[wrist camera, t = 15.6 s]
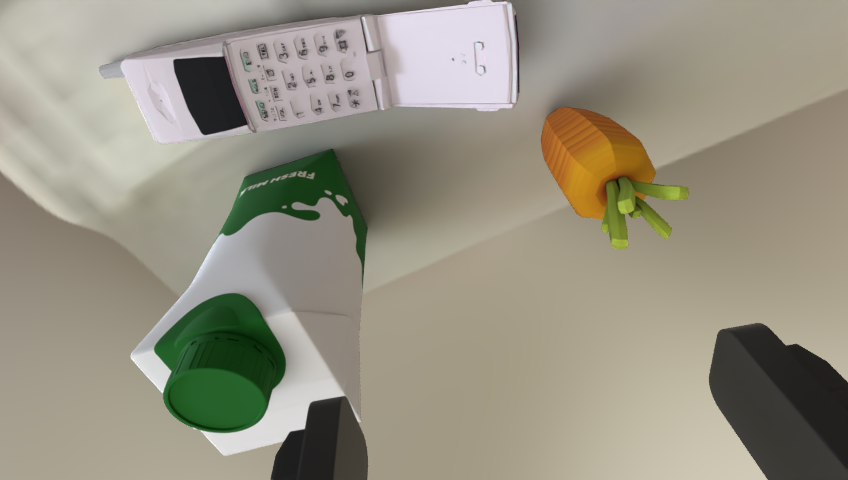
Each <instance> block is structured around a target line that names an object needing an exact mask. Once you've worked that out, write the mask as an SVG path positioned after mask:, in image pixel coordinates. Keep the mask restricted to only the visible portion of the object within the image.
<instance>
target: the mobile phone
mask: <svg viewBox="0 0 848 480" xmlns="http://www.w3.org/2000/svg"><path fill="white" fill-rule="evenodd" d="M99 71H100V73H101V75H102V77H103V78H104V79H107V78H120V77H125V78H126V80H127V82H128V85H129V87H130V89H131V91H132V93H133V95H134V97H135V100H136V102H137V104H138V106H139V108H140V110H141V112H142V115H143V117H144V119H145V121H146V123H147V125H148V127H149V130H150V132H151V134H152V136H153V138H154V140H155V141H157V142H159V143H161V144H170V143H181V142H189V141H198V140H206V139H215V138H222V137H229V136H236V135H243V134H250V133H256V132H262V131H268V130H274V129H280V128H286V127H292V126H298V125H303V124H308V123H313V122H319V121H324V120H329V119H334V118H339V117H344V116H349V115H354V114H359V113H364V112H369V111H375V110H378V108H379V109H381V110H386V109H389V108H390V107H392V106H404V107H446V108H477V110H478V111H498V110H499V108H513V107H515V106H516V104H517V101H518V98H519V42H518V31H517V20H516V11H515V9H514V7H513V5H512V3H511V2H507V1H505V2H492V1H491V0H480V1H471V2H469V3H468V4H467V5H457V6H449V7H441V8H433V9H425V10H417V11H409V12H400V13H392V14H384V15H376V16H374V15H373V14H371V13H370V14H363V15H356V16H349V17H342V18H338V17H331V18H323V19H316V20H308V21H300V22H293V23H286V24H280V25H274V26H267V27H261V28H255V29H248V30H242V31H236V32H230V33H224V34H219V35H215V36H210V37H205V38H200V39H195V40H190V41H185V42H180V43H175V44H170V45H165V46H159V47H155V48H153V49H151V50H147V51H142V52H136V53H133V54H131V55H128V56H127V57H126V58H125V59H124V60H121V61H117V62H113V63H110V64H106V65H102V66H100V67H99Z"/></svg>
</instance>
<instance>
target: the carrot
mask: <svg viewBox="0 0 848 480" xmlns="http://www.w3.org/2000/svg"><path fill="white" fill-rule="evenodd" d="M541 145H542V151H543V155H544V159H545V161H546V163H547V165H548V167H549V169H550V171H551V173H552V175H553V177H554V178H555V180H556V182H557V183H558V185H559V187H560V188H561V190H562V192H563V193H564V195H565V196H566V198H567V199H568V201H569V203H570V204H571V206H572V207H573V209H574V210H575V212H576V213H577V214H578V215H579V216H581V217H586V218H595V219H603V222H602V227H601V230H602V232H606V233H608V232H609V235H610V240H611V247H613V248H617V249H625V248H627V247H628V236H627V226H626V221H625V215H624V214H626V213H628V214H629V215H630V217H631V218H638V217H639V216H640V215H642V216H643V217H644V218H645V219H646V221H647V222H648V223H649V224H650V225H651V226H652V228H654V230H655V231H656V232H657V233H658V234H659V235H660V236H662V237H663V238H664V239H666V238H668V237H669V236H670V234H671V231H672V228H671V227H670V226H669V225H668V223H667V222H665V221H664V220H663V219H662V218H661V217H660V216H659V215H658V214H657V213H656V212H655V211H654V210H653V209H652V208H651V207H650V206H649V205H648V204H646V202H644V199H645V196H646V195H649V196H652V197H656V198H659V199H663V200H685V199H687V198H688V194H689V191H688V188H687V187H683V186H665V185H658V184H651V183H652V181H653V179H654V176H655V174H656V172H655V169H654V167H653V165H652V163H651V161H650V159H649V157H648V155H647V153H646V151H645V149H644V147H643V145H642V143H641V142H640V140H639V139H637V138H636V137H635V136H634V135H632V134H631V133H630V132H628V131H627V130H626V129H624V128H623V127H622V126H620V125H619V124H617V123H616V122H614V121H613V120H611V119H610V118H608V117H605V116H603V115H600V114H598V113H595V112H591V111H588V110H584V109H577V108H570V107H561V108H558V109H557V110H555V111H554V112H552V113H551V114H549V115H548V116H547V117H546V121H545V124H544V127H543V131H542V136H541Z"/></svg>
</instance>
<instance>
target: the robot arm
mask: <svg viewBox="0 0 848 480" xmlns="http://www.w3.org/2000/svg"><path fill="white" fill-rule="evenodd" d="M709 385H710V389H711V393H712V395H713V398H714V400H715V402H716V404H717V406H718V407H719V409H720V410H721V412H722V413H723V415H724V416H725V417H726V419H727V421H728V422H729V423H730V425H731V426H732V428H733V429H734V431H735V432H736V434H737V435H738V437H739V438H740V440H741V441H742V443H743V444H744V445H745V447H746V448H747V450H748V451H749V453H750V454H751V456H752V457H753V459H754V460H755V461H756V463H757V465H758V466H759V467H760V469H761V470H762V472H763V473H764V474H765V476H766V478H767V479H768V480H848V382H847V381H846V380H845V379H844V378H843V377H842V376H841V375H840V374H839V373H838V372H837V371H836V370H835V369H833V367H832V366H831V365H830V364H829V363H828V362H827V361H825V360H823V359H822V358H820V357H818V356H817V355H815V354H813V353H811V352H810V351H808V350H806V349H805V348H803V347H801V346H799V345H798V344H793V345H787V346H786V345H785V344H784V343H783V342H782V341H781V340H780V339H779V338H778V337H777V336H776V335H775V334H774V333H773V332H772V331H771V330H770V329H769V328H768V327H767V326H765V325H764V324H761V323H755V324H750V325H744V326H739V327H733V328H727V329H722V330H720V331H719V332H718V335H717V339H716V344H715V349H714V354H713V359H712V364H711V369H710V374H709ZM367 472H368V456H367V447H366V442H365V438H364V435H363V433H362V431H361V428H360V426H359V423H358V421H357V419H356V416H355V414H354V412H353V409H352V407H351V405H350V402H349V400H348V398H347V397H346V396H340V397H334V398H329V399H323V400H318V401H313V402H311V403H310V405H309V408H308V413H307V419H306V425H305V429H302V430H296V431H290V432H289V434H288V436H287V437H286V439H285V441H284V442H283V444H282V446H281V447H280V449H279V451H278V452H277V454H276V457H275V461H274V466H273V471H272V475H271V480H367V474H368V473H367Z"/></svg>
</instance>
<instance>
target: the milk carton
mask: <svg viewBox="0 0 848 480" xmlns="http://www.w3.org/2000/svg"><path fill="white" fill-rule="evenodd" d="M366 235H367V226H366V224H365V221H364V219H363V217H362V215H361V212H360V210H359V208H358V205H357V203H356V201H355V199H354V196H353V194H352V192H351V190H350V187H349V185H348V183H347V181H346V178H345V176H344V174H343V172H342V169H341V167H340V165H339V163H338V160H337V158H336V156H335V154H334V151H333V149H331V150H328V151H324V152H321V153H318V154H315V155H312V156H309V157H306V158H303V159H300V160H296V161H293V162H290V163H287V164H284V165H281V166H278V167H275V168H271V169H268V170H265V171H262V172H259V173H256V174H253V175H250V176H246V177H244V180H243V183H242V185H241V188H240V190H239V193H238V195H237V198H236V200H235V203H234V205H233V208H232V210H231V213H230V215H229V216H228V218H227V220H226V222H225V224H224V226H223V228H222V229H221V231H220V233H219V235H218V237H217V238H216V240H215V242H214V244H213V246H212V248H211V249H210V251H209V253H208V255H207V257H206V258H205V260H204V262H203V264H202V266H201V268H200V269H199V271H198V273H197V275H196V277H195V278H194V280H193V282H192V284H191V285H190V287H189V288H188V289H187V290H186V291H185V293H184V294H183V295H182V296H181V297H180V298H179V300H178V301H177V302H176V303H175V304H174V305H173V306H172V308H171V309H170V310H169V311H168V312H167V313H166V314H165V315H164V317H163V318H162V319H161V320H160V321H159V323H158V324H157V325H156V326H155V327H154V328H153V329H152V330H151V331H150V333H149V334H148V335H147V336H146V337H145V338H144V339H143V340H142V342H141V343H140V344H139V345H138V346H137V347H136V348H135V349H134V351H133V352H132V353H131V359H132V360H133V361H134V362H135V363H136V365H137V366H138V367H139V368H140V369H141V370H142V371H143V372H144V373H145V374H146V376H147V377H148V378H149V379H150V380H151V381H152V382H153V383H154V384H155V385H156V387H157V388H158V389H159V390H160V391H161V392H162V393H163V399H164V403H165V405H166V407H167V409H168V410H169V412H170V413H171V414H172V415H173V416H174V417H175V418H177V419H178V420H179V421H181V422H182V423H184V424H186V425H188V426H190V427H192V428H194V429H195V430H197V429H199V430H200V431H201V432H202V433H203V434H204V435H205V436H206V437H207V438H208V439H209V440H210V442H211V443H212V444H213V445H214V446H215V447H216V448H217V449H218V450H219V451H220V452H221V453H222V454H223V455H224V456H227V455H230V454H235V453H239V452H243V451H247V450H251V449H255V448H259V447H263V446H266V445H271V444H275V443H279V442H283V441H285V439H286V437H287V436H288V434H289V432H290V431H296V430H302V429H305V425H306V419H307V413H308V408H309V405H310V403H311V402H313V401H318V400H323V399H329V398H334V397H340V396H346V397H347V398H348V400H349V402H350V405H351V407H352V409H353V412H354V414H355V416H356V419H357V421H358V422H361V421H362V420H361V398H360V397H361V394H360V352H359V331H360V317H361V303H362V289H363V275H364V261H365V245H366Z"/></svg>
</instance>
